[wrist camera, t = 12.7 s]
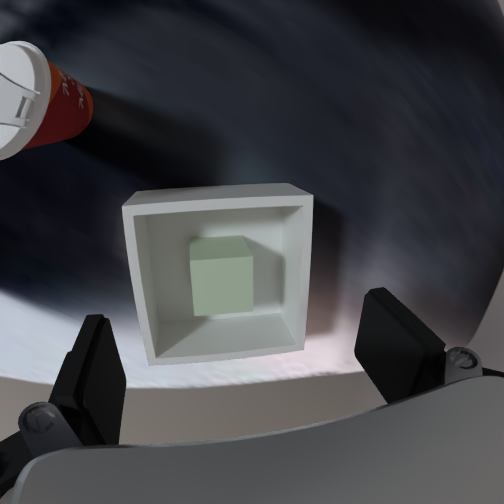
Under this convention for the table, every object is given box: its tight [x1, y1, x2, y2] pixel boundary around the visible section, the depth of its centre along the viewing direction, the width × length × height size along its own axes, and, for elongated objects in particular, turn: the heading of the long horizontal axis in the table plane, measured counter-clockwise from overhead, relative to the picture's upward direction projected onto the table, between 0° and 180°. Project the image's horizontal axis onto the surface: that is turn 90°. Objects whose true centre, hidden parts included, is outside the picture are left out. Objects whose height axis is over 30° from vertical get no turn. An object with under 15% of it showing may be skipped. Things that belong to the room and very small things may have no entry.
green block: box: [190, 235, 253, 316], centre depth 29 cm, size 5×5×6 cm
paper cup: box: [0, 41, 93, 160], centre depth 18 cm, size 8×8×14 cm
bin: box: [122, 183, 313, 366], centre depth 29 cm, size 15×15×7 cm
